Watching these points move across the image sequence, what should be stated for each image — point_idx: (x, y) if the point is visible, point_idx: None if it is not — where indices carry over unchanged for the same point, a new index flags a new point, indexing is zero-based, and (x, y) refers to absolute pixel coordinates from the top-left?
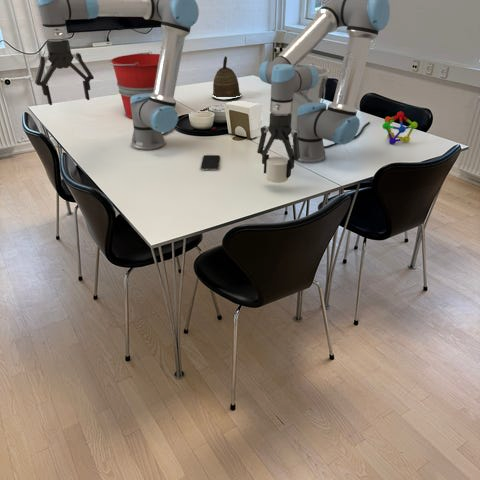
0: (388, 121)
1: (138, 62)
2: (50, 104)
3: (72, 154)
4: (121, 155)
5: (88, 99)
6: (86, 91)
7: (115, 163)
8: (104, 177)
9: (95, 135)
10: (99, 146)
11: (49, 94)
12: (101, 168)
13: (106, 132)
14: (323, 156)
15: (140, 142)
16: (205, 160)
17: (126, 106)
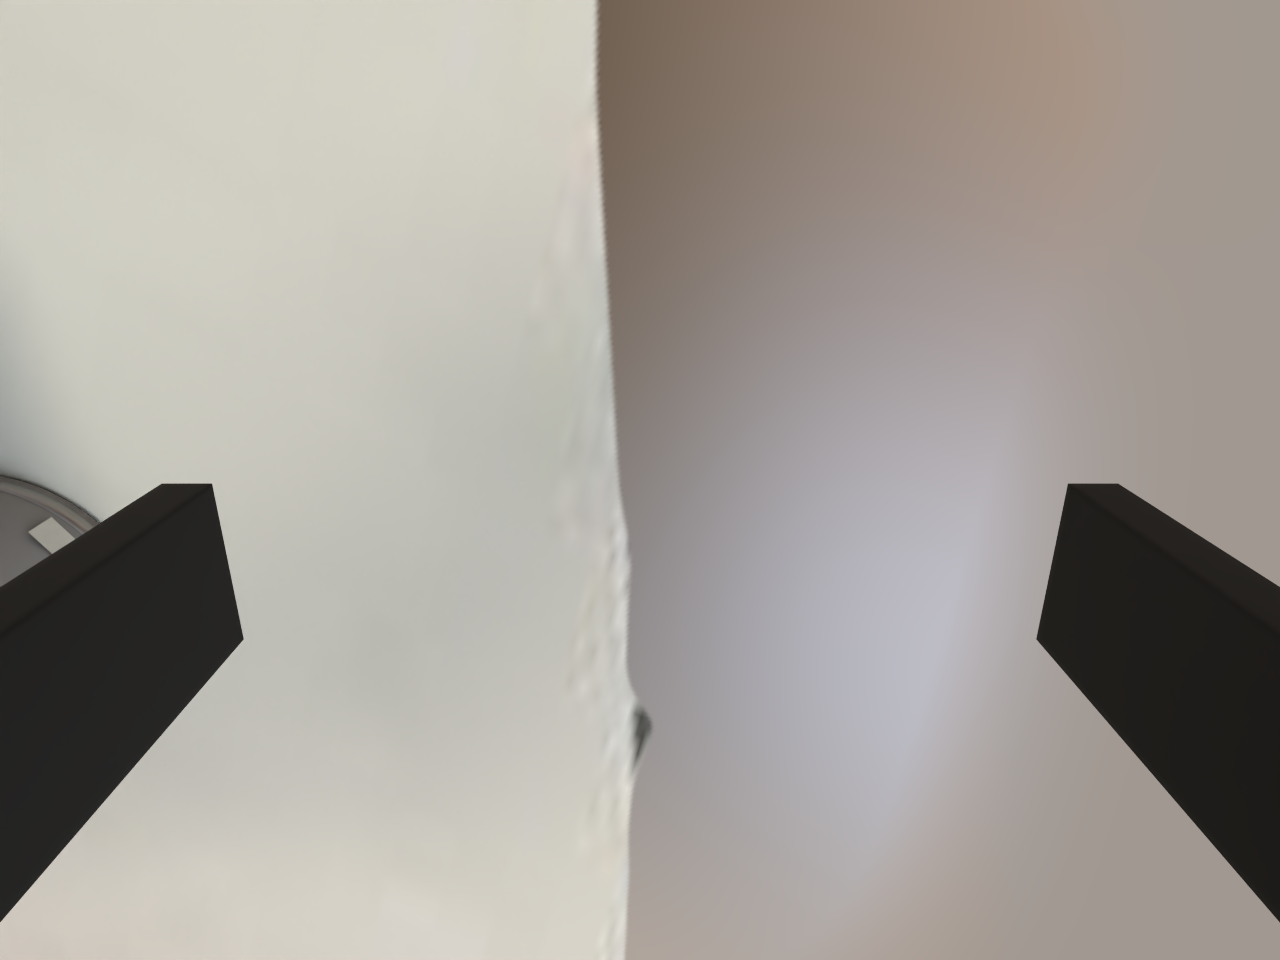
0: None
1: None
2: (1117, 486)
3: (615, 687)
4: (272, 489)
5: (182, 488)
6: (60, 582)
7: (354, 347)
8: (511, 83)
9: (378, 938)
10: (396, 740)
11: (1259, 611)
12: (486, 301)
13: (292, 956)
14: None
15: (47, 551)
16: None
17: None
